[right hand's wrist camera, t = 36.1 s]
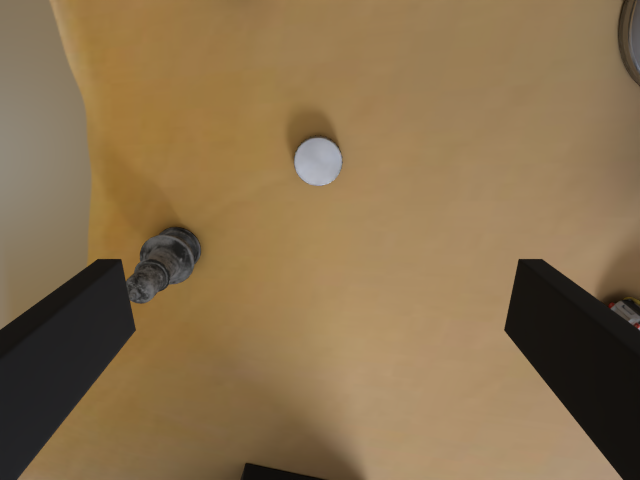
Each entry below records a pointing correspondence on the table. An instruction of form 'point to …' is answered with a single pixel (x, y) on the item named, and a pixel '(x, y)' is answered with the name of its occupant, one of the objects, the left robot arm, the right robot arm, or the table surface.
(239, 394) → the table surface
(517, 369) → the table surface
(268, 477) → the cardboard box
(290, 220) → the table surface
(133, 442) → the table surface
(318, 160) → the lid
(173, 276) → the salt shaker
